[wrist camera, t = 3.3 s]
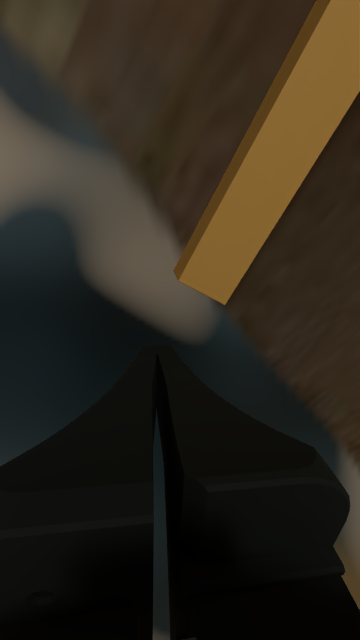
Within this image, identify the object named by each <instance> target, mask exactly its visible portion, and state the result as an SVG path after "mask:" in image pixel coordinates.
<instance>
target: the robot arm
mask: <svg viewBox="0 0 360 640" xmlns="http://www.w3.org/2000/svg"><path fill="white" fill-rule="evenodd" d="M156 407H157V415H158V422H159V430H160V437H161V445H162V453H163V462H164V478H165V501H166V525H167V551H168V552H167V553H168V578H169V580H168V581H169V609H170V639H171V640H360V610H359V609H358V607H357V605H356V603H355V601H354V599H353V597H352V596H351V594H350V592H349V590H348V588H347V586H346V584H345V583H344V581H343V579H342V577H341V575H343V574H344V573H345V569H344V565H343V563H342V562H341V560H340V558H339V556H338V554H337V553H336V551H335V549H334V547H333V544H334V543H335V541H336V539H337V537H338V535H339V533H340V531H341V529H342V527H343V526H344V524H345V522H346V519H347V517H348V514H349V510H350V500H349V495H348V493H347V492H346V490H345V489H344V487H343V486H342V484H341V483H340V482H339V480H338V479H337V477H336V476H335V475H334V473H333V472H332V470H331V469H330V467H329V466H328V465H327V463H326V462H325V461H324V460H323V458H322V457H321V456H320V454H319V453H318V452H317V451H316V450H315V449H314V447H312V446H310V445H308V444H305V443H303V442H301V441H299V440H296V439H294V438H292V437H289V436H288V435H285V434H283V433H281V432H279V431H276V430H274V429H273V428H271V427H269V426H267V425H265V424H263V423H261V422H259V421H257V420H256V419H254V418H252V417H250V416H249V415H247V414H245V413H244V412H242V411H240V410H239V409H237V408H236V407H234V406H233V405H231V404H230V403H228V402H227V401H225V400H224V399H223V398H221V397H220V396H219V395H217V394H216V393H215V392H214V391H212V390H211V389H210V388H209V387H207V386H206V385H205V384H204V383H203V382H202V381H201V380H200V379H199V378H198V377H197V376H196V375H195V374H194V373H193V372H192V371H191V370H190V369H189V367H188V366H187V365H186V364H185V363H184V362H183V360H182V359H181V358H180V357H179V355H178V354H177V352H176V351H175V350H174V348H173V347H172V346H171V345H142V346H141V347H140V348H139V350H138V352H137V354H136V355H135V357H134V359H133V360H132V362H131V363H130V364H129V366H128V367H127V369H126V370H125V371H124V373H123V374H122V375H121V376H120V377H119V379H118V380H117V381H116V382H115V383H114V385H113V386H112V387H111V388H110V389H109V390H108V391H107V392H106V393H105V394H104V395H103V396H102V397H101V398H100V399H99V400H98V401H97V402H96V403H95V404H93V405H92V406H91V407H90V408H89V409H88V410H87V411H85V412H84V413H83V414H81V415H80V416H79V417H78V418H77V419H75V420H74V421H73V422H71V423H70V424H68V425H67V426H65V427H64V428H63V429H61V430H60V431H58V432H57V433H55V434H54V435H52V436H51V437H49V438H48V439H46V440H45V441H43V442H41V443H40V444H38V445H37V446H35V447H33V448H32V449H30V450H28V451H26V452H25V453H23V454H21V455H19V456H18V457H16V458H14V459H13V460H11V461H9V462H7V463H6V464H4V465H2V466H0V640H152V633H153V630H152V629H153V624H152V623H153V525H154V524H153V523H154V518H153V517H154V514H153V441H154V429H155V417H156Z"/></svg>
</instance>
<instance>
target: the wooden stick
mask: <svg viewBox="0 0 360 640" xmlns="http://www.w3.org/2000/svg"><path fill="white" fill-rule="evenodd" d="M359 91H360V0H316V2H315V4H314V6H313V8H312V9H311V11H310V13H309V15H308V17H307V19H306V21H305V23H304V25H303V27H302V28H301V30H300V32H299V34H298V36H297V38H296V40H295V42H294V44H293V45H292V47H291V49H290V51H289V53H288V55H287V57H286V59H285V61H284V62H283V64H282V66H281V68H280V70H279V72H278V74H277V76H276V78H275V79H274V81H273V83H272V85H271V87H270V89H269V91H268V93H267V95H266V96H265V98H264V100H263V102H262V104H261V106H260V108H259V110H258V112H257V113H256V115H255V117H254V119H253V121H252V123H251V125H250V127H249V129H248V130H247V132H246V134H245V136H244V138H243V140H242V142H241V144H240V146H239V148H238V149H237V151H236V153H235V155H234V157H233V159H232V161H231V163H230V165H229V166H228V168H227V170H226V172H225V174H224V176H223V178H222V180H221V182H220V183H219V185H218V187H217V189H216V191H215V193H214V195H213V197H212V199H211V200H210V202H209V204H208V206H207V208H206V210H205V212H204V214H203V216H202V217H201V219H200V221H199V223H198V225H197V227H196V229H195V231H194V233H193V234H192V236H191V238H190V240H189V242H188V244H187V246H186V248H185V250H184V252H183V253H182V255H181V257H180V259H179V261H178V262H177V264H176V266H175V268H174V273H175V275H176V277H177V279H178V281H180V282H182V283H184V284H186V285H188V286H189V287H191V288H193V289H195V290H197V291H199V292H201V293H203V294H205V295H207V296H209V297H210V298H212V299H214V300H216V301H218V302H220V303H222V304H224V305H225V304H226V303H227V301H228V299H229V298H230V296H231V295H232V293H233V291H234V290H235V288H236V287H237V285H238V283H239V282H240V280H241V279H242V277H243V276H244V274H245V272H246V271H247V269H248V268H249V266H250V264H251V263H252V261H253V260H254V258H255V256H256V255H257V253H258V252H259V250H260V249H261V247H262V245H263V244H264V242H265V241H266V239H267V237H268V236H269V234H270V233H271V231H272V229H273V228H274V226H275V225H276V223H277V222H278V220H279V218H280V217H281V215H282V214H283V212H284V210H285V209H286V207H287V206H288V204H289V202H290V201H291V199H292V198H293V196H294V195H295V193H296V191H297V190H298V188H299V187H300V185H301V183H302V182H303V180H304V179H305V177H306V175H307V174H308V172H309V171H310V169H311V167H312V166H313V164H314V163H315V161H316V160H317V158H318V156H319V155H320V153H321V152H322V150H323V148H324V147H325V145H326V144H327V142H328V140H329V139H330V137H331V136H332V134H333V133H334V131H335V129H336V128H337V126H338V125H339V123H340V121H341V120H342V118H343V117H344V115H345V113H346V112H347V110H348V109H349V107H350V106H351V104H352V102H353V101H354V99H355V98H356V96H357V94H358V93H359Z"/></svg>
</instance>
